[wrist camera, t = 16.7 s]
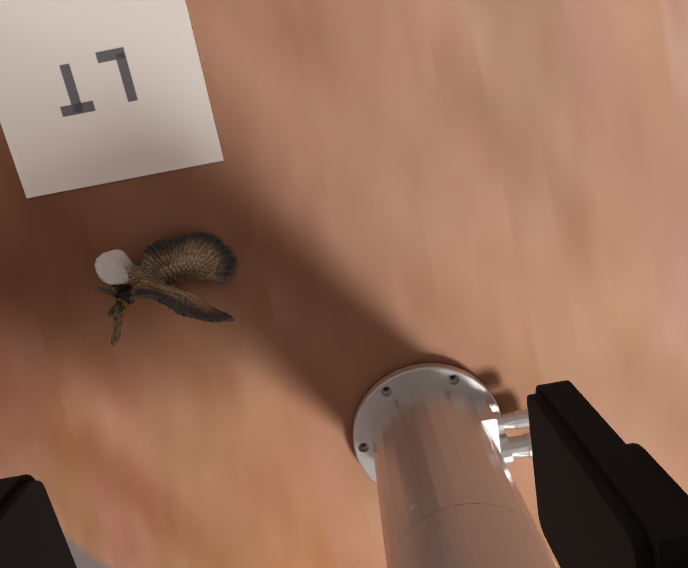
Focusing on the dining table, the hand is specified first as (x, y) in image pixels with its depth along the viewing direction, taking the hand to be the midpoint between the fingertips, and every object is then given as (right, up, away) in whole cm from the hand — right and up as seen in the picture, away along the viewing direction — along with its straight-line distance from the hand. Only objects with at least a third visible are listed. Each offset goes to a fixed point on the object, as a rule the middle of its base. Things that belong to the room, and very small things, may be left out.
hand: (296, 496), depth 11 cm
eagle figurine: (-12, +5, +33) cm, 36 cm away
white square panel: (-17, +18, +29) cm, 38 cm away
